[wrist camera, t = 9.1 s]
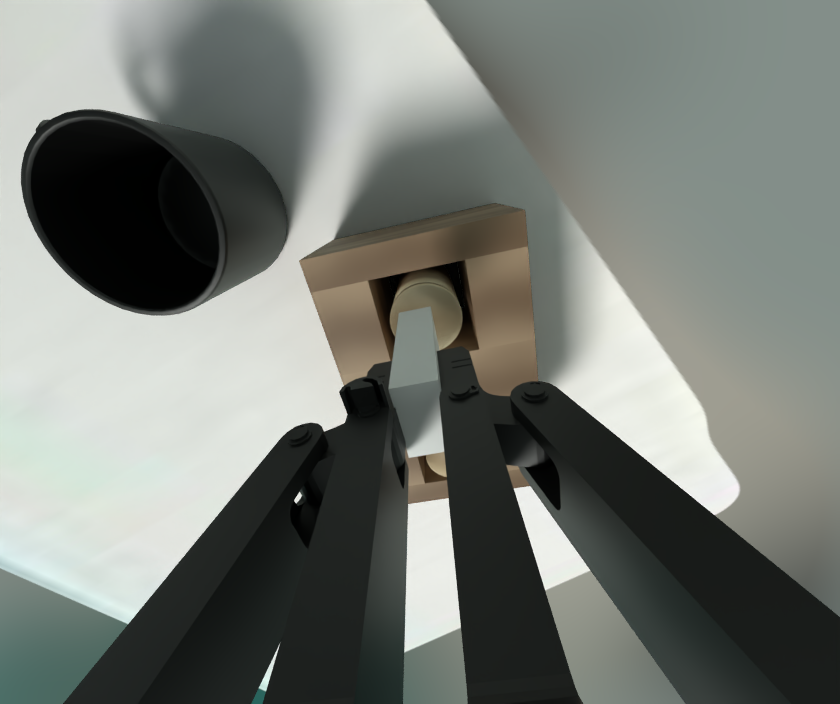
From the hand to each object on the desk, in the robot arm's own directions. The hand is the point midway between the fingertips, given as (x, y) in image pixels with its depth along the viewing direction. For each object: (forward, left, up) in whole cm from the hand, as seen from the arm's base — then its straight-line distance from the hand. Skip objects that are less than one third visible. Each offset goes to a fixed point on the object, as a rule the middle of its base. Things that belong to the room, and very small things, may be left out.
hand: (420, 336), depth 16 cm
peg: (0, 0, -11) cm, 11 cm away
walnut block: (+5, 0, -12) cm, 13 cm away
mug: (-9, -14, -12) cm, 20 cm away
